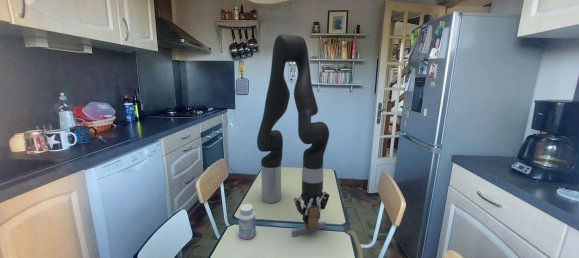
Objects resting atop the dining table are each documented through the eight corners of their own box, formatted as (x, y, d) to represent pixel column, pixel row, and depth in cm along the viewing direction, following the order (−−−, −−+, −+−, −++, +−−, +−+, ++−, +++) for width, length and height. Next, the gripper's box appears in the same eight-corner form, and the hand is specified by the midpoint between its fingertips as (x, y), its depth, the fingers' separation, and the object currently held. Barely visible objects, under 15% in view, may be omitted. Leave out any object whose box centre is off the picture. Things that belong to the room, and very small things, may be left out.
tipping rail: (291, 234, 91) (291, 229, 90) (324, 225, 96) (324, 221, 96) (292, 236, 89) (292, 231, 89) (325, 227, 95) (325, 223, 94)
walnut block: (303, 224, 92) (304, 202, 90) (313, 222, 93) (314, 200, 91) (308, 230, 88) (309, 207, 86) (318, 228, 90) (319, 205, 88)
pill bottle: (248, 227, 95) (247, 201, 92) (259, 233, 91) (258, 206, 88) (235, 235, 90) (234, 207, 88) (246, 242, 86) (245, 213, 84)
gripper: (324, 171, 93) (322, 212, 96) (289, 176, 87) (289, 219, 91) (335, 178, 86) (333, 222, 90) (299, 185, 80) (298, 231, 84)
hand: (311, 220), depth 90 cm, fingers closed on walnut block, 4 cm apart
